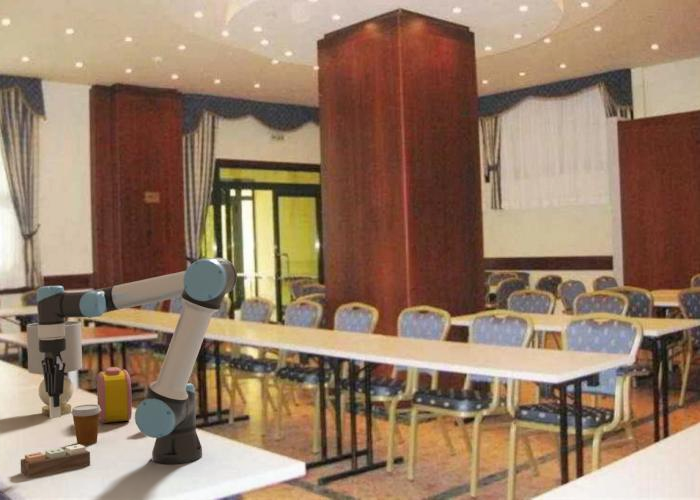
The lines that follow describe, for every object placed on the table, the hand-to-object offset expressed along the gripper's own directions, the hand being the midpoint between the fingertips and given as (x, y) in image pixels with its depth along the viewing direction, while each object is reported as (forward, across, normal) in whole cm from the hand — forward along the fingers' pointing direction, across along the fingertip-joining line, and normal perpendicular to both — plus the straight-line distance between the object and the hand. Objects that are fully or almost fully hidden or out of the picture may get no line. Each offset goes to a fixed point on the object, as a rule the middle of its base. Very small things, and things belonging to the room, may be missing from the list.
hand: (55, 417), depth 234 cm
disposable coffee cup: (+16, +23, -19) cm, 34 cm away
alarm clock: (+16, +48, -40) cm, 64 cm away
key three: (+15, 0, +6) cm, 16 cm away
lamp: (+15, +77, -29) cm, 84 cm away
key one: (+15, 0, -6) cm, 16 cm away
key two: (+15, 0, 0) cm, 15 cm away
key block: (+15, 0, 0) cm, 15 cm away
